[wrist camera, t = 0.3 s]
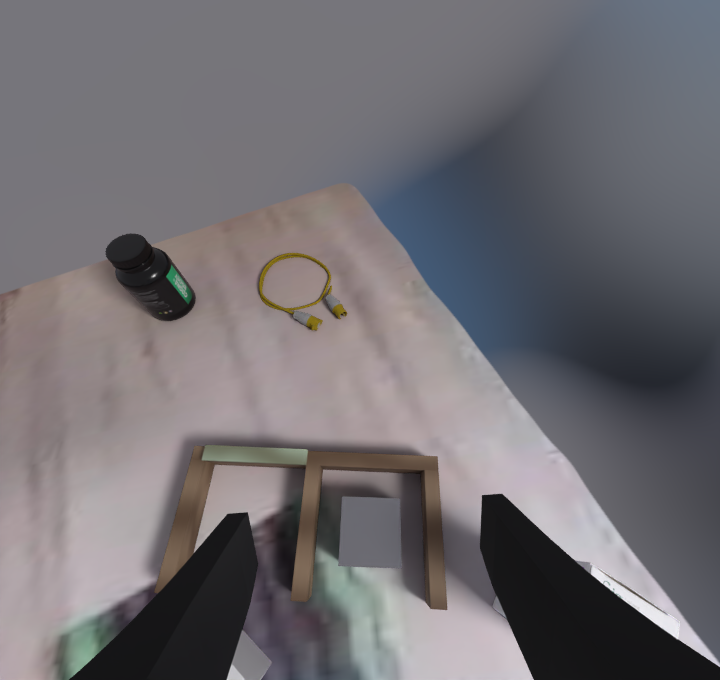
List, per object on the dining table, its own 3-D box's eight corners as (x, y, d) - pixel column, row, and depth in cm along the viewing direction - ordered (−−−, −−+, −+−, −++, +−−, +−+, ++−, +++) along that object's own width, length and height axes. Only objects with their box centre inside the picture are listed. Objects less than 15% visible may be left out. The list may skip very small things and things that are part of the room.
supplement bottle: (206, 298, 52) (165, 241, 41) (171, 330, 49) (118, 277, 39) (177, 279, 54) (131, 219, 43) (142, 308, 51) (84, 252, 41)
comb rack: (440, 603, 33) (448, 611, 30) (170, 587, 34) (150, 593, 31) (432, 460, 40) (438, 455, 37) (205, 450, 41) (192, 444, 38)
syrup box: (489, 607, 33) (567, 659, 20) (511, 548, 35) (592, 561, 23) (547, 649, 32) (669, 732, 19) (565, 584, 34) (685, 619, 21)
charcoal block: (398, 564, 35) (401, 568, 32) (340, 561, 35) (338, 565, 32) (396, 500, 38) (400, 498, 34) (344, 499, 38) (342, 496, 35)
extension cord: (268, 344, 48) (264, 337, 47) (256, 264, 56) (252, 256, 54) (349, 325, 50) (349, 318, 48) (327, 249, 57) (326, 241, 55)
